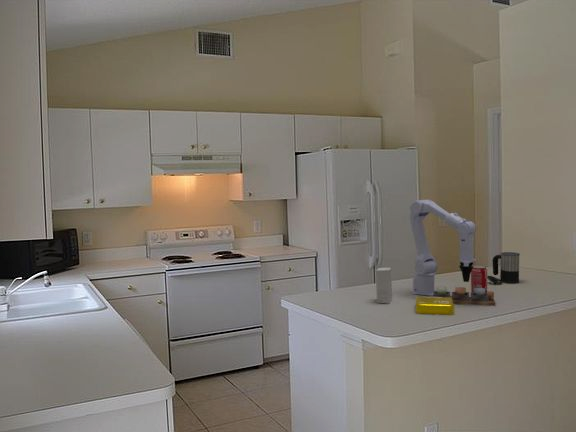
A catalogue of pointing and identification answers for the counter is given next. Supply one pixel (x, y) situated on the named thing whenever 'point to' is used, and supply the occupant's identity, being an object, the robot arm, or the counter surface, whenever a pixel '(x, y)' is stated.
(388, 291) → the skincare box
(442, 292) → the sage button
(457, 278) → the counter surface
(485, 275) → the soda can
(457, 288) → the terracotta button
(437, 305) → the element tile
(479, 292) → the slate button
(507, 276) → the milk frother
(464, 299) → the panel
